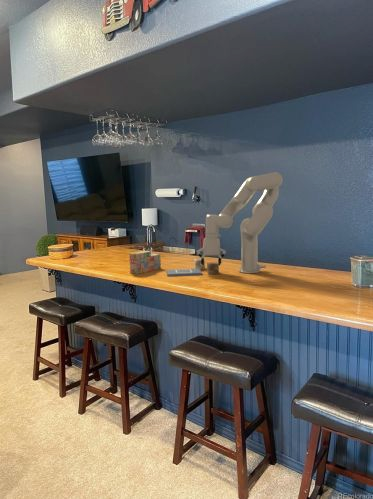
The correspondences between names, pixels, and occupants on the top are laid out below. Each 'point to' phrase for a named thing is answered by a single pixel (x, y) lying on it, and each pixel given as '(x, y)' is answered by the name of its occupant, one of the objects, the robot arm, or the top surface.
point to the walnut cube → (212, 268)
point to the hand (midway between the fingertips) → (211, 265)
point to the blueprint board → (183, 272)
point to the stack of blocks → (144, 262)
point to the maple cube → (199, 264)
